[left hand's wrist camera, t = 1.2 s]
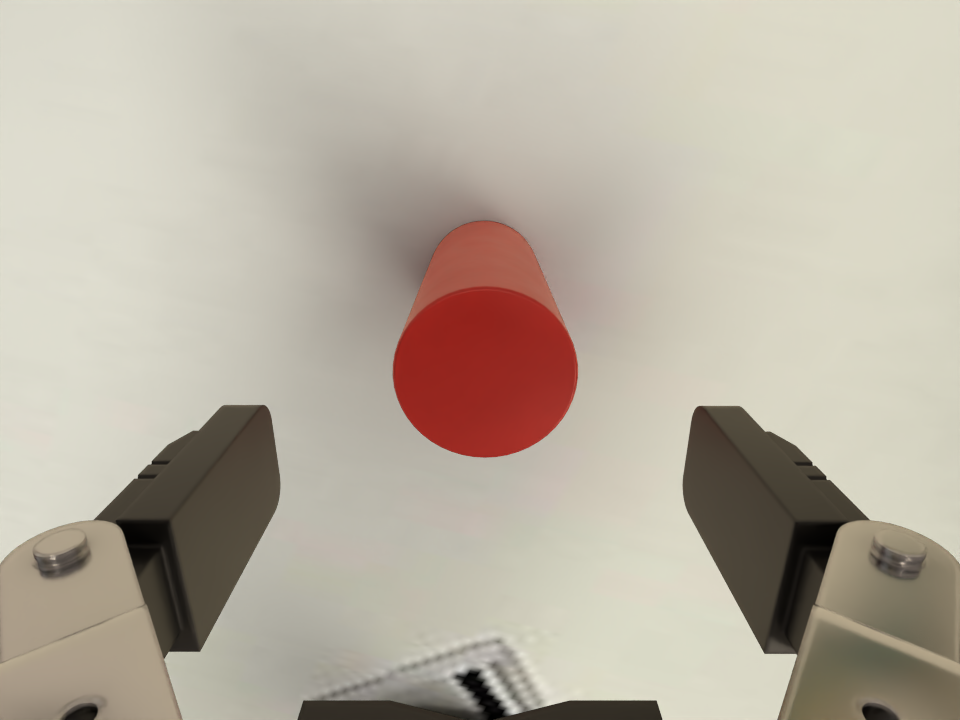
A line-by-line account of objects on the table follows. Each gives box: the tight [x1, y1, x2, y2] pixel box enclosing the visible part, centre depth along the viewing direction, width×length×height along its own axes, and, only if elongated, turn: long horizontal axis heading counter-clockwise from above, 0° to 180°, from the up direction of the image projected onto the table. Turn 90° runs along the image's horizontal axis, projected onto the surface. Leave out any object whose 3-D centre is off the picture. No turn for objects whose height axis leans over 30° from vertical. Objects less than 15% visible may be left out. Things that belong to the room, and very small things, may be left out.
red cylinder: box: [393, 221, 578, 457], centre depth 20 cm, size 5×5×11 cm
